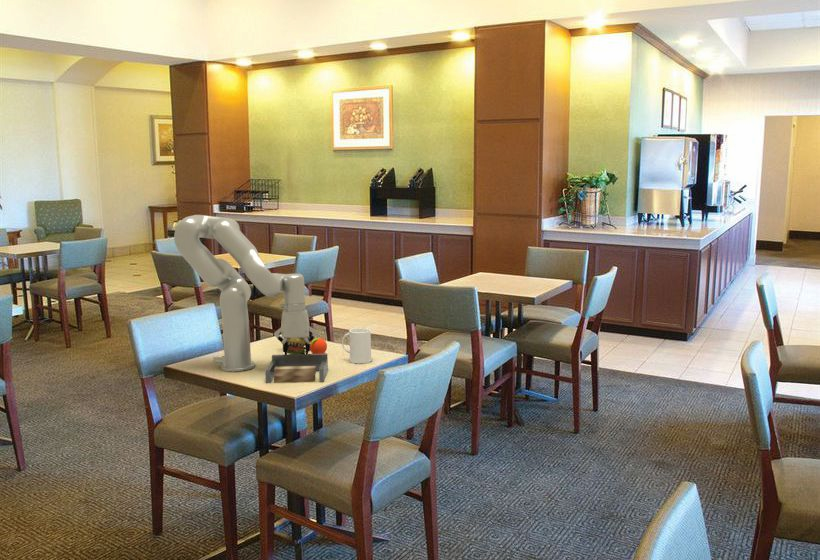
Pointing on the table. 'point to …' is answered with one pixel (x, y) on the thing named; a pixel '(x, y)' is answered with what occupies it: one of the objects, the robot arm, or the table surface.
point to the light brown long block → (295, 374)
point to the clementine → (318, 346)
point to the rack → (298, 363)
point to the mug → (359, 345)
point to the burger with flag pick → (296, 345)
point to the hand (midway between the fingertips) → (296, 353)
